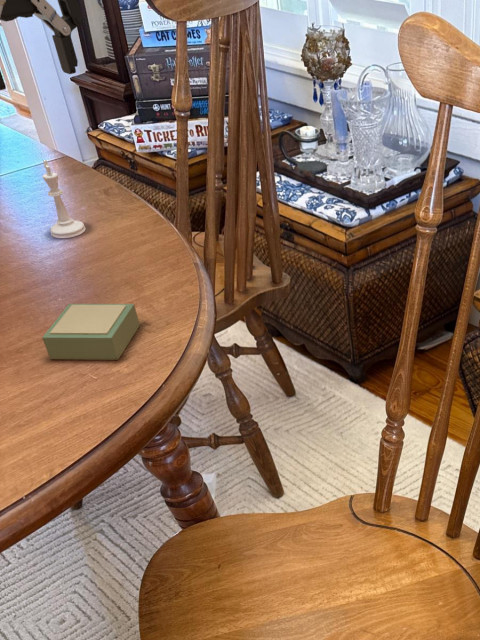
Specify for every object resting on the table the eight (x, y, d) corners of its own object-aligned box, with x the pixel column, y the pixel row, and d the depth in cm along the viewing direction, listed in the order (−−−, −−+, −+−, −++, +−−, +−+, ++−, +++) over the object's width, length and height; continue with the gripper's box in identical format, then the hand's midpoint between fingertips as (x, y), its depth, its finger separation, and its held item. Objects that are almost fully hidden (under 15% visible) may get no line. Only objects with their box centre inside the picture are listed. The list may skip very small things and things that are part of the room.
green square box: (50, 359, 89) (41, 335, 87) (76, 324, 95) (68, 301, 93) (118, 360, 88) (110, 336, 86) (140, 325, 94) (133, 302, 92)
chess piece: (56, 241, 113) (31, 169, 107) (47, 230, 116) (23, 159, 110) (89, 232, 115) (67, 161, 108) (80, 222, 118) (58, 152, 111)
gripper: (28, -109, 84) (76, 63, 95) (-109, -95, 77) (-39, 88, 88) (61, -106, 80) (107, 73, 91) (-80, -92, 73) (-12, 100, 84)
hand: (35, 80), depth 90 cm, fingers open, 8 cm apart
